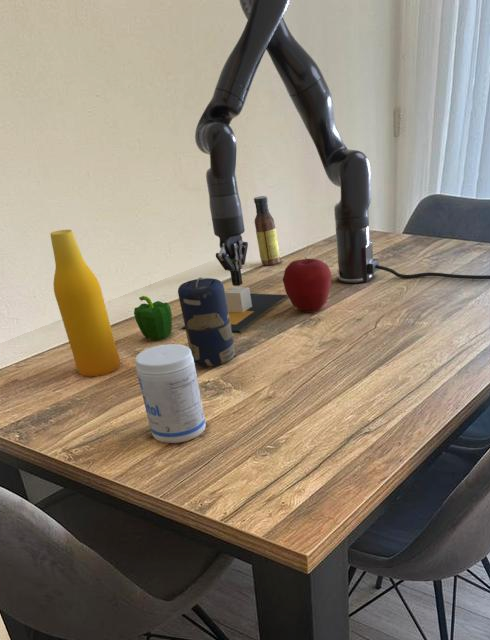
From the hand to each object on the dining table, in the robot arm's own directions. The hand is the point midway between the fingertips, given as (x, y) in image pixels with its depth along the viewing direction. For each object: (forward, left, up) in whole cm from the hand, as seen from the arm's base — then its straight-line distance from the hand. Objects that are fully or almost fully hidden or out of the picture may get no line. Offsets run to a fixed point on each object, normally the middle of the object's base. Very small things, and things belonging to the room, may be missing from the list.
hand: (237, 284), depth 172 cm
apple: (-19, -2, -7) cm, 20 cm away
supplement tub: (-22, +64, -7) cm, 68 cm away
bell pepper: (+11, +22, -7) cm, 26 cm away
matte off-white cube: (0, -1, -4) cm, 4 cm away
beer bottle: (+13, +42, -7) cm, 45 cm away
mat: (0, +2, -6) cm, 7 cm away
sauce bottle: (+13, -44, -7) cm, 46 cm away
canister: (-11, +33, -7) cm, 36 cm away
